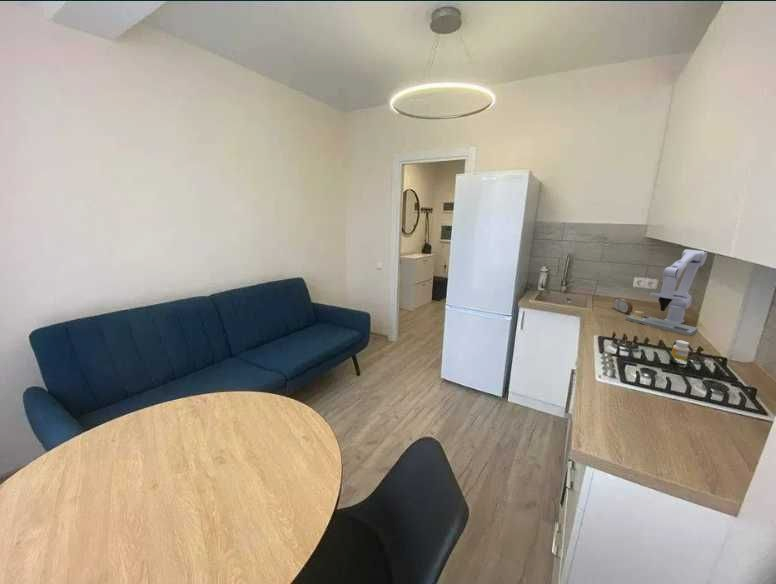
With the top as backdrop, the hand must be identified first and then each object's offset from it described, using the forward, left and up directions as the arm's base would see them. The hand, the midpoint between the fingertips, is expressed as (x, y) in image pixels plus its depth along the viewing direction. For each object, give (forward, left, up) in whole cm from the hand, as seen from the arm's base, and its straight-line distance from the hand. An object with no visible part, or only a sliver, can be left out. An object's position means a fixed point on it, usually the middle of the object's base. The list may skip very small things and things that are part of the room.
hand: (662, 310), depth 185 cm
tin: (-13, -24, -10) cm, 29 cm away
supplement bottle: (+54, +21, -10) cm, 59 cm away
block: (+2, -10, -7) cm, 13 cm away
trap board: (-1, 0, -9) cm, 9 cm away
